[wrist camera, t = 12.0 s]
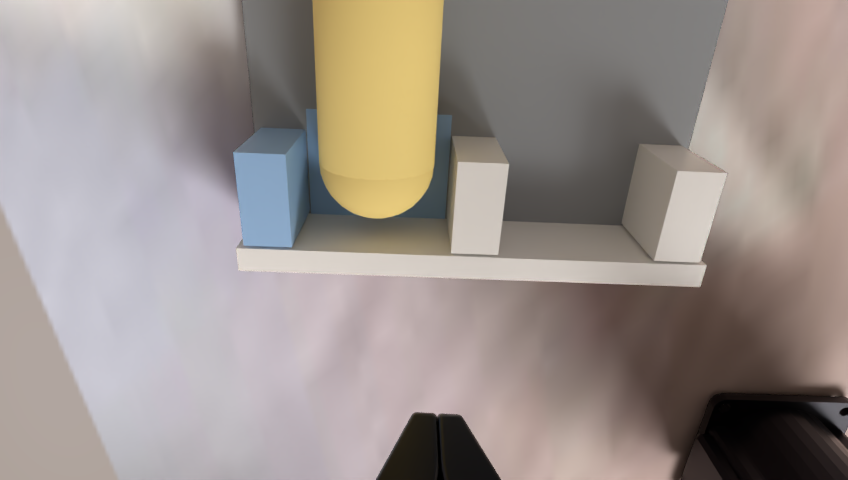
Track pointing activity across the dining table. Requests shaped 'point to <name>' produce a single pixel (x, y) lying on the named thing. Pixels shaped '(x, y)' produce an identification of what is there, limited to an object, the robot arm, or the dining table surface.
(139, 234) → the dining table surface
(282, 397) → the dining table surface
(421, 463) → the robot arm
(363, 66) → the yellow pill shape
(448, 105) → the capsule display stand
